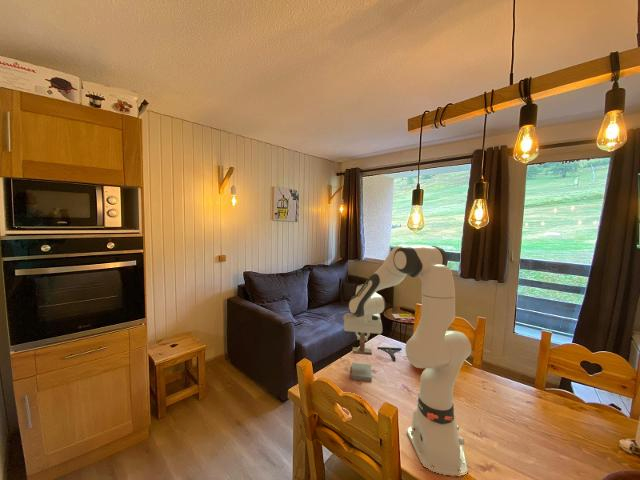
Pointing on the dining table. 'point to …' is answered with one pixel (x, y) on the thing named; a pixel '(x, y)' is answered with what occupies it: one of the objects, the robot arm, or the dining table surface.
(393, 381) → the dining table surface
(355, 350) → the inverted t stand
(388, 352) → the bracket
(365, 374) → the tile
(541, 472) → the dining table surface
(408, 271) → the robot arm
